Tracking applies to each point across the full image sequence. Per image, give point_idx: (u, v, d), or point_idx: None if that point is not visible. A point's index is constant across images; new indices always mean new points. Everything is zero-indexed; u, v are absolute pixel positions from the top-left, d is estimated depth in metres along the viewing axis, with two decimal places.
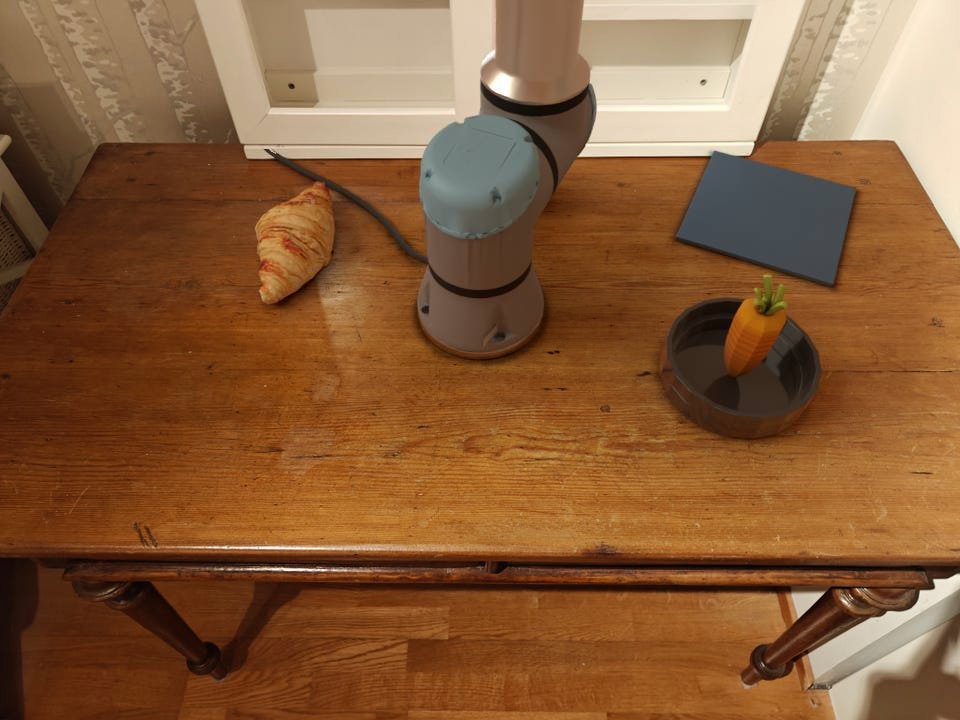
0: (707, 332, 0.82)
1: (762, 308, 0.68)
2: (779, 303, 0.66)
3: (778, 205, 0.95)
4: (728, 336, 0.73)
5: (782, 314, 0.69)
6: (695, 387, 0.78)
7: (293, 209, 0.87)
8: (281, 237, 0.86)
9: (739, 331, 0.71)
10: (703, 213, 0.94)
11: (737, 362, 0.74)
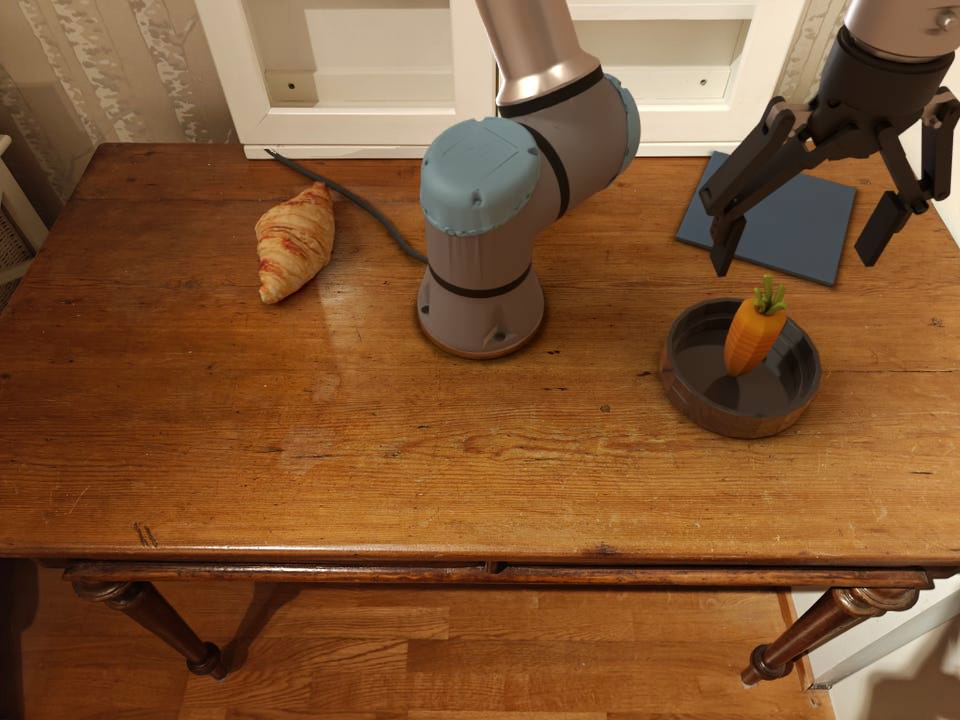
0: (707, 332, 0.82)
1: (762, 308, 0.68)
2: (779, 303, 0.66)
3: (778, 205, 0.95)
4: (728, 336, 0.73)
5: (782, 314, 0.69)
6: (695, 387, 0.78)
7: (293, 209, 0.87)
8: (281, 237, 0.86)
9: (739, 331, 0.71)
10: (703, 213, 0.94)
11: (737, 362, 0.74)
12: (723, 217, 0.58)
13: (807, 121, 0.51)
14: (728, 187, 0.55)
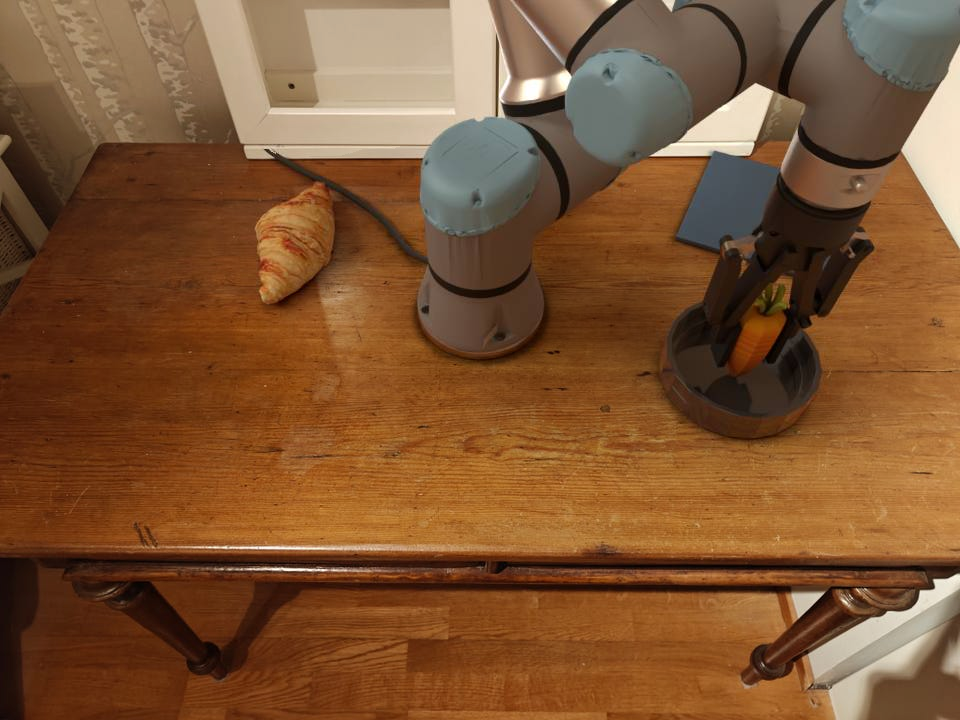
0: (707, 332, 0.82)
1: (762, 308, 0.68)
2: (779, 303, 0.66)
3: None
4: None
5: (782, 314, 0.69)
6: (695, 387, 0.78)
7: (293, 209, 0.87)
8: (281, 237, 0.86)
9: None
10: (703, 213, 0.94)
11: (737, 362, 0.74)
12: (722, 324, 0.70)
13: (754, 248, 0.62)
14: (715, 305, 0.67)
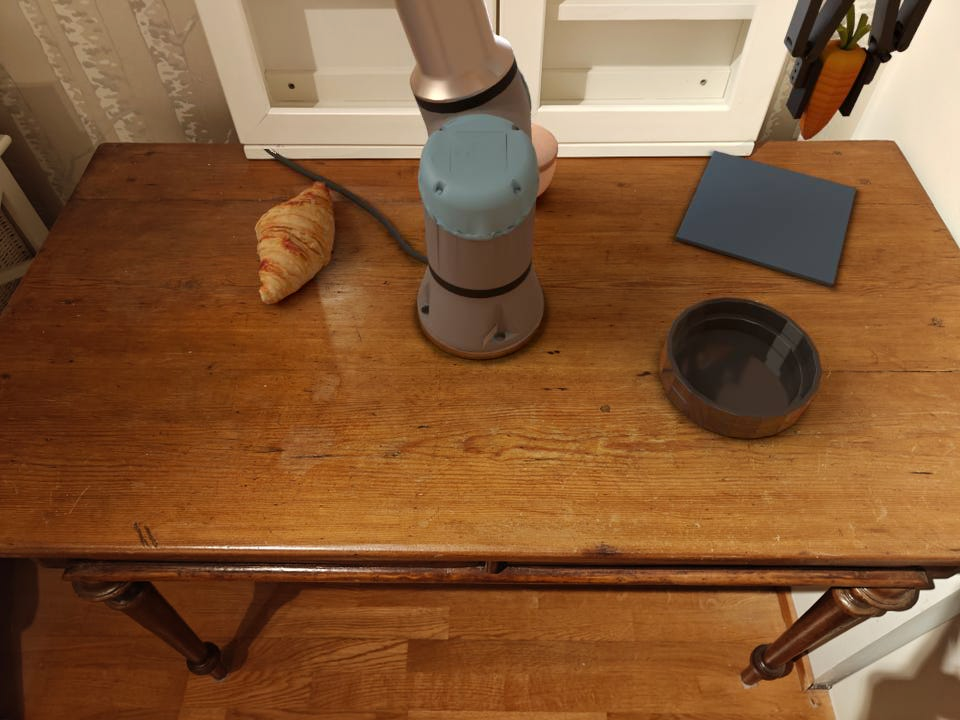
0: (707, 332, 0.82)
1: (844, 38, 0.70)
2: (863, 27, 0.69)
3: (778, 205, 0.95)
4: None
5: (862, 50, 0.72)
6: (695, 387, 0.78)
7: (293, 209, 0.87)
8: (281, 237, 0.86)
9: None
10: (703, 213, 0.94)
11: (814, 112, 0.76)
12: (803, 60, 0.72)
13: None
14: (801, 30, 0.69)
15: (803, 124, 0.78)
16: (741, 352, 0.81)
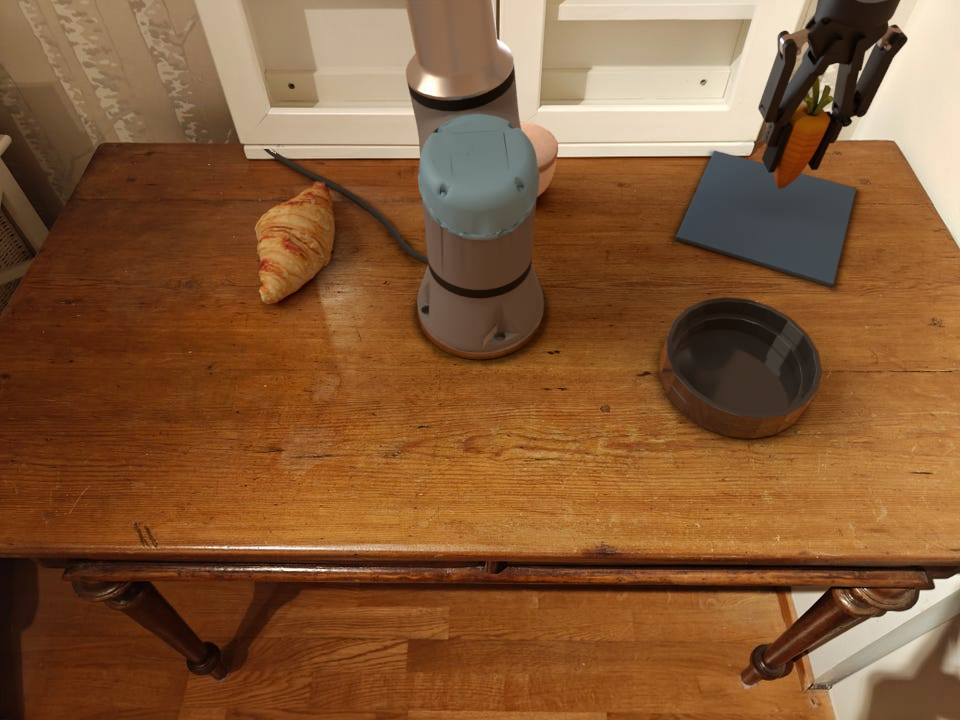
0: (707, 332, 0.82)
1: (810, 106, 0.81)
2: (826, 98, 0.79)
3: (778, 205, 0.95)
4: None
5: (827, 115, 0.82)
6: (695, 387, 0.78)
7: (293, 209, 0.87)
8: (281, 237, 0.86)
9: None
10: (703, 213, 0.94)
11: (786, 167, 0.87)
12: (775, 124, 0.82)
13: (808, 39, 0.74)
14: (772, 100, 0.79)
15: (777, 176, 0.89)
16: (741, 352, 0.81)
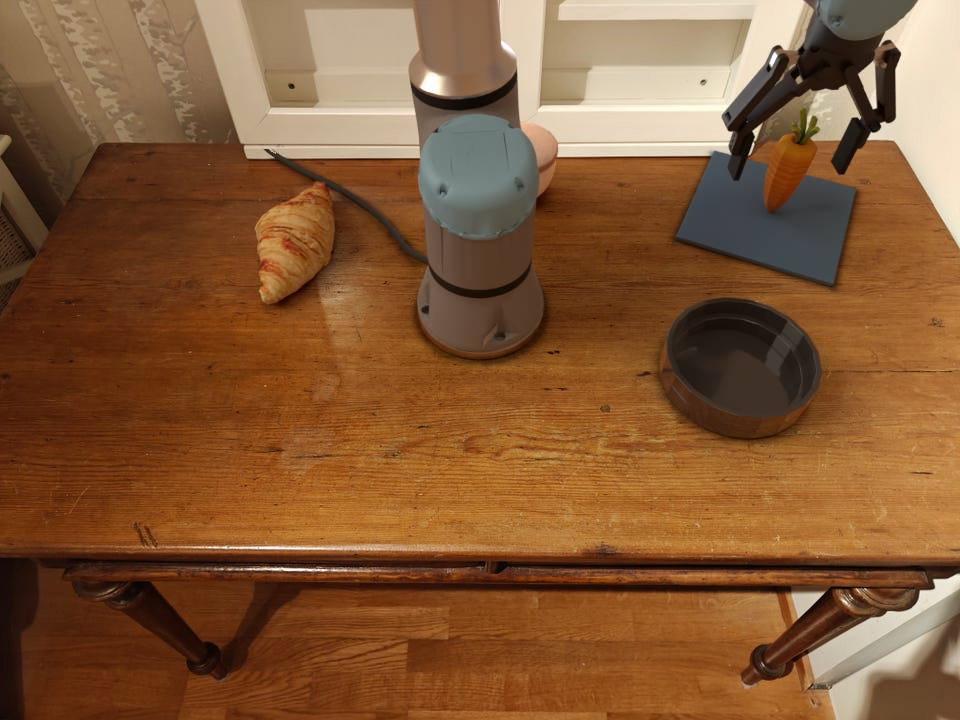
0: (707, 332, 0.82)
1: (798, 136, 0.84)
2: (812, 129, 0.82)
3: None
4: (768, 169, 0.89)
5: (814, 144, 0.85)
6: (695, 387, 0.78)
7: (293, 209, 0.87)
8: (281, 237, 0.86)
9: (778, 160, 0.86)
10: (703, 213, 0.94)
11: (775, 192, 0.90)
12: (738, 133, 0.83)
13: (797, 62, 0.76)
14: (743, 109, 0.80)
15: (767, 200, 0.92)
16: (741, 352, 0.81)
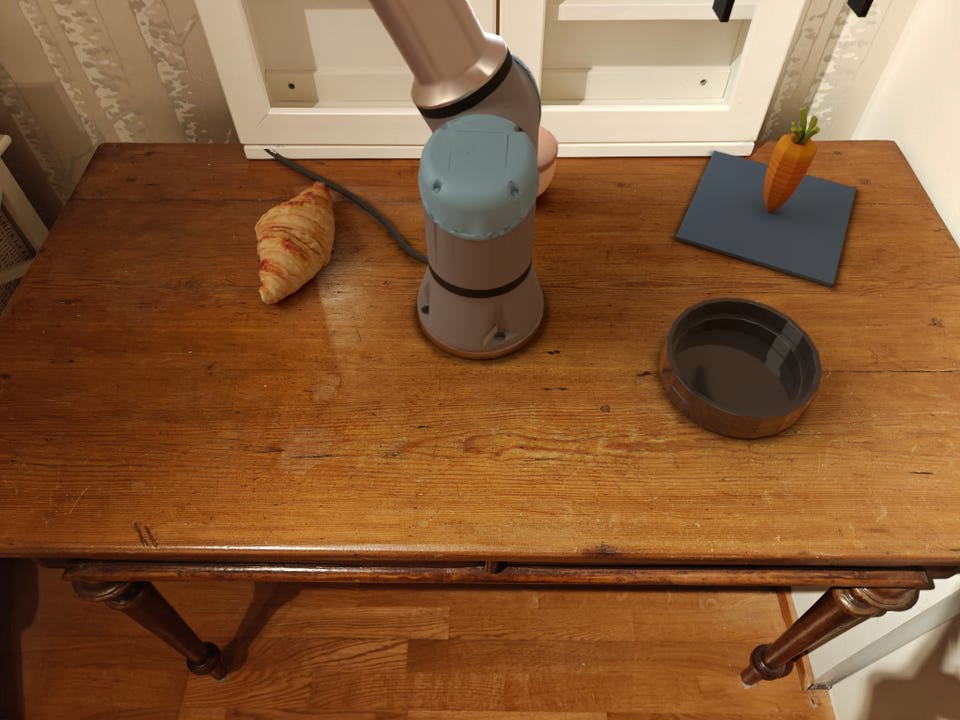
0: (707, 332, 0.82)
1: (798, 136, 0.84)
2: (812, 129, 0.82)
3: None
4: (768, 169, 0.89)
5: (814, 144, 0.85)
6: (695, 387, 0.78)
7: (293, 209, 0.87)
8: (281, 237, 0.86)
9: (778, 160, 0.86)
10: (703, 213, 0.94)
11: (775, 192, 0.90)
12: None
13: None
14: None
15: (767, 200, 0.92)
16: (741, 352, 0.81)
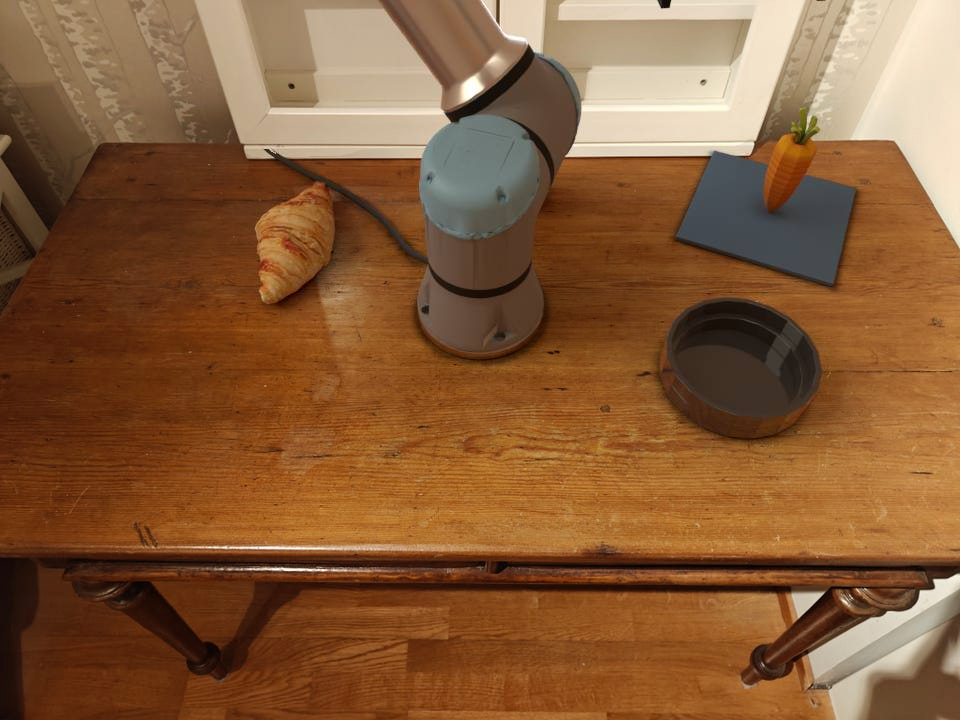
0: (707, 332, 0.82)
1: (798, 136, 0.84)
2: (812, 129, 0.82)
3: None
4: (768, 169, 0.89)
5: (814, 144, 0.85)
6: (695, 387, 0.78)
7: (293, 209, 0.87)
8: (281, 237, 0.86)
9: (778, 160, 0.86)
10: (703, 213, 0.94)
11: (775, 192, 0.90)
12: None
13: None
14: None
15: (767, 200, 0.92)
16: (741, 352, 0.81)
